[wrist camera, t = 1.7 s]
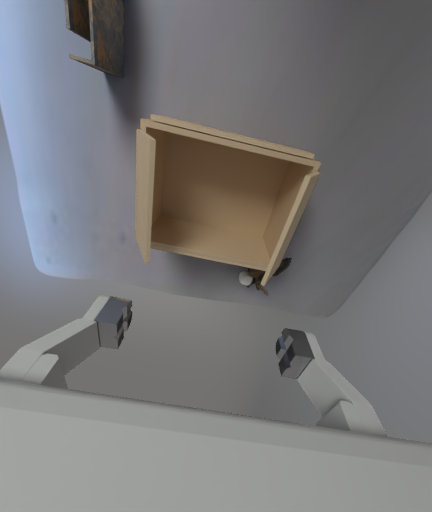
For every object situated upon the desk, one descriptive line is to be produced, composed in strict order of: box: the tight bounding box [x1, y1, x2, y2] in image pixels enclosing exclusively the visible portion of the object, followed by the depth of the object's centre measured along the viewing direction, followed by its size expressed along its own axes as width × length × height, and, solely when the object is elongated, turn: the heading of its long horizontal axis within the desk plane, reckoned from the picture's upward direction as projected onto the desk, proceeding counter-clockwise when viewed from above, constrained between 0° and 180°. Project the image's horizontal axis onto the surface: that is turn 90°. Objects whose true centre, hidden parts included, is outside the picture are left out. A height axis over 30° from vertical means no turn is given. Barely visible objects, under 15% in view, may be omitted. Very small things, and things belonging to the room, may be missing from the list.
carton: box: [140, 114, 322, 271], centre depth 31 cm, size 16×20×10 cm
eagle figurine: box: [239, 258, 292, 295], centre depth 40 cm, size 8×7×9 cm
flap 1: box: [136, 129, 156, 263], centre depth 24 cm, size 13×1×6 cm
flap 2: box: [261, 172, 321, 286], centre depth 25 cm, size 13×1×6 cm, turn 168°
